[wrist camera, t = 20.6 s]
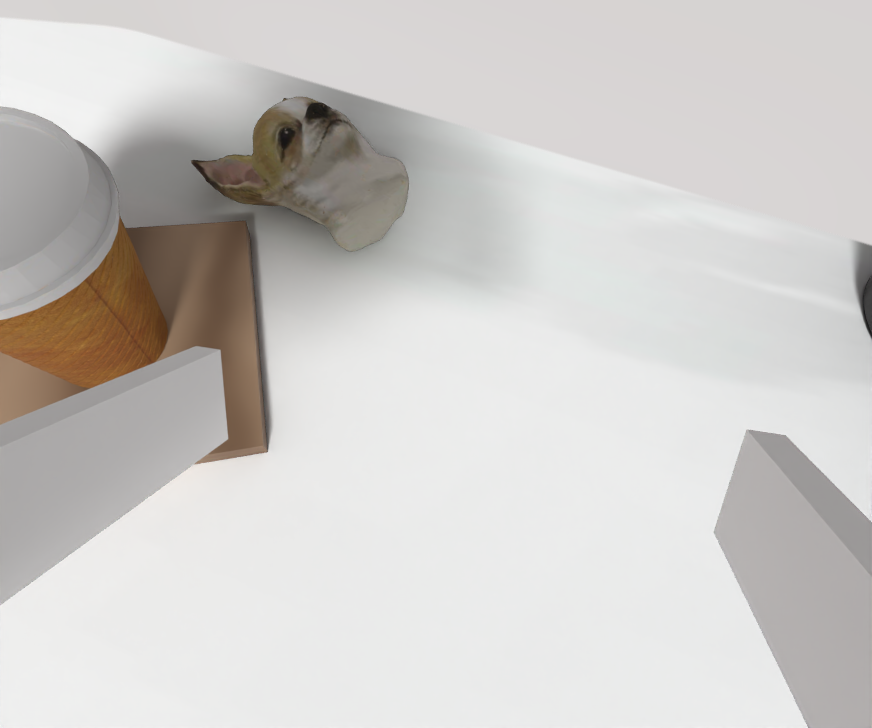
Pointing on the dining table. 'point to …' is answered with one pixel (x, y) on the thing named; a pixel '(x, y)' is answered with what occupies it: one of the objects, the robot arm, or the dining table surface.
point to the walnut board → (183, 326)
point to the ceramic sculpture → (315, 172)
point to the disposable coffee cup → (68, 261)
